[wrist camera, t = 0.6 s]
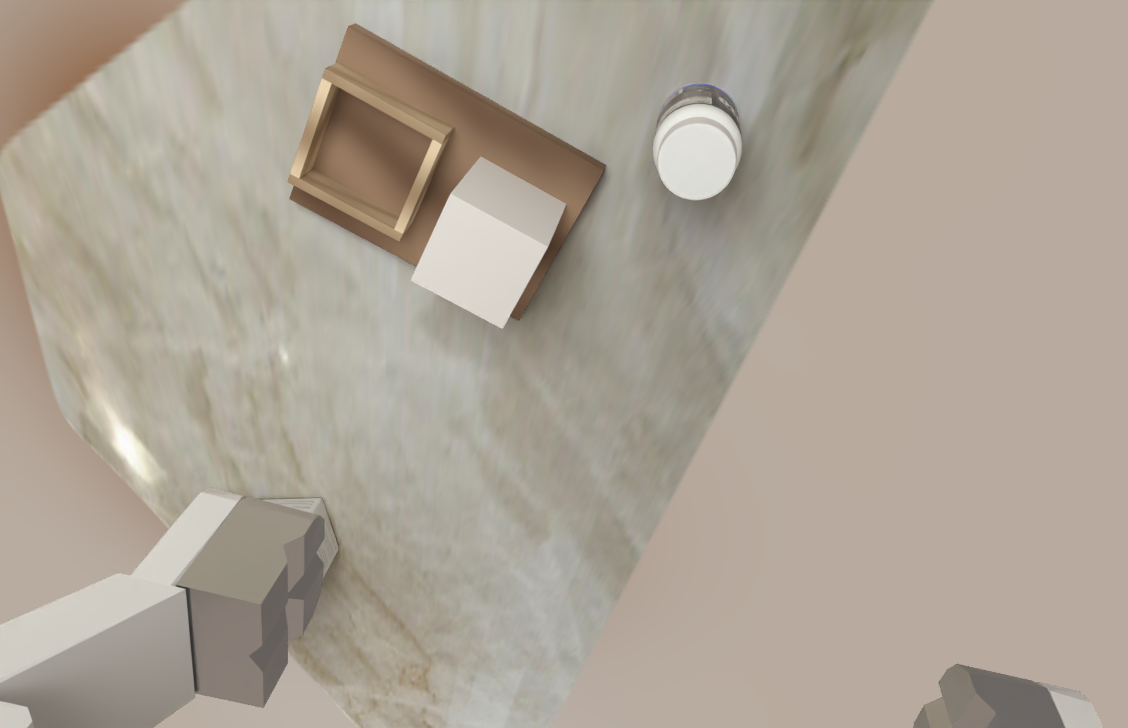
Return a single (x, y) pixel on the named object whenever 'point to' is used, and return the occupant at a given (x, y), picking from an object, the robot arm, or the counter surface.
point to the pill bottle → (697, 141)
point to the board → (419, 151)
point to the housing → (488, 241)
